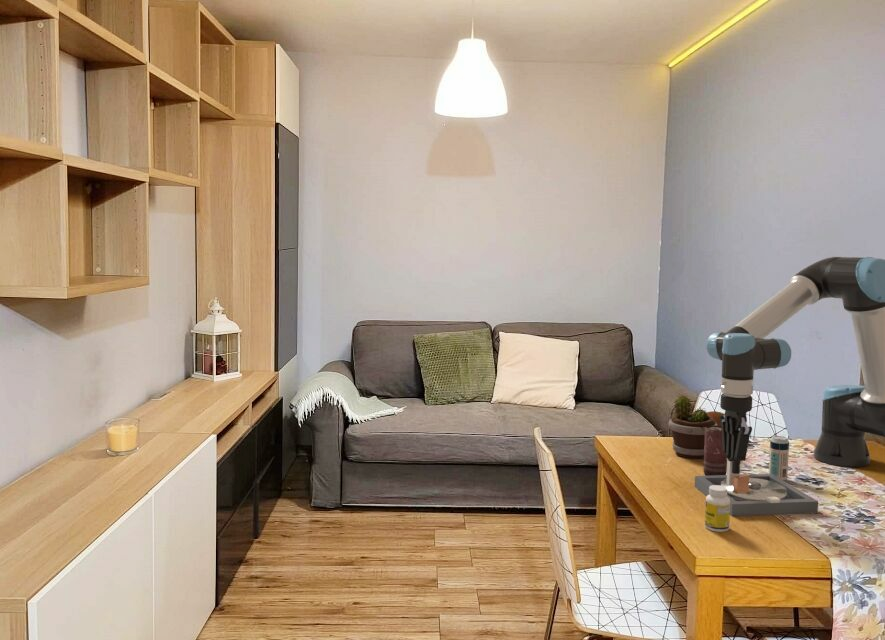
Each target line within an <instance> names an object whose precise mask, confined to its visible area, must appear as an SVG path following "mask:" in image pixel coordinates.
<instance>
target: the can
mask: <svg viewBox="0 0 885 640" xmlns="http://www.w3.org/2000/svg"><path fill="white" fill-rule="evenodd" d="M727 459H728V458H727V457H726V454H724V453H723V444H722V430H721V426H707V427H706V429H705V445H704V458H703V474H704V476H711V475H727Z"/></svg>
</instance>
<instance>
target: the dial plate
mask: <svg viewBox="0 0 885 640" xmlns="http://www.w3.org/2000/svg"><path fill="white" fill-rule="evenodd" d="M749 478H758V479H764V480H768V481H772V482H775V483H778V484H780V485H782V486H784V487H785V488H786V489H787V500H780V499H779V498H777V497H767V500H755V501H735V500H734V499H733V498H731V497H730V496H729V495H726V496H727V497H728V498H729V499H730V516H731V517H740V516H741V517H742V516H743V517H744V516H745V517H747V516H772V515H801V514H805V515H807V514H818V511H819V501H818V499H815V498H813V497H812V496H810V495H808V494H807V493H805V492H803V491H802V490H800V489H799V488H796V487H795V486H794V485H791V484H790V483H788V482H787V481H786V480H785V481H783V480H782V479H780V478H778V477H777V476H775V475H773V474H769V473H756V474H755V473H753V474H751V473H750V474H749ZM725 479H727V474H726V475H711V476H706V475H695V476H694V488H696V489H697V490H698V491H700V493H702V494H704V496H706V497H707V496H708V495H710V493H709V487H710V486H712V485H720V486H721V482H722V481H723V480H725Z"/></svg>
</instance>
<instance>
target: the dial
mask: <svg viewBox="0 0 885 640" xmlns="http://www.w3.org/2000/svg"><path fill="white" fill-rule="evenodd" d="M726 483H727V479H725V480H723V481H722V482H721V486H724V487H726V488H727V495H729V496H730V497H731V498H733V499H734V500H735V501H755V500H767V497H777V498H779V499H780V500H787V489H786V488H785V487H784V486H782V485H780V484H778V483H775V482H772V481H768V480H764V479H758V478H749V474H748V473H743V474H740V475H739V476H736V477H734V482H733V485H728V484H726Z"/></svg>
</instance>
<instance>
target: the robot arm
mask: <svg viewBox="0 0 885 640" xmlns="http://www.w3.org/2000/svg"><path fill="white" fill-rule="evenodd" d="M830 298H833V299H834V298H835V299H841V300H842V305H843V308H844V311H846V312H848V313H850V315H851V320H852V324H853V331H854V335H855V340H856V346H857V352H858V358H859V363H860V366H861V367H860V368H861V369H860V370H861V373H862V378H863V380H862V381H863V383H864V384H863V385H861V384H859V385H857V384H838V385H830V386H827V387H826V388H824V390H823V397H822V413H821V415H822V416H821V418H822V419H821V433H820V436H819V438H818V440H817V443H816V445H815V447H814V449H813V451H814V452H813V457H814V459H815V460H817V461H819V462H821V463H824V464H829V465H833V466H839V467H850V468H851V467H853V468H855V467H856V468H859V467H866V466H869V465H870V464H871V463H870V462H871V455H870V452H869V448H868V444H867V442H866V437H865V435H866V434H870V435H871V434H872V435H875V436H878V437H881V438H882V437H883V438H885V259H884V258H878V257H877V258H876V257H872V256H867V257H866V256H865V257H853V256H852V257H848V256H843V257H842V256H832V257H827V258H823V259H821V260H818V261H816V262H814V263H812V264H810V265H808V266H807V267H805V268H803V269H802V270H800V271H799V272H797V273H796V274H795V275H794V276H792V277H791V278H790V279H789V281H788V283H787V285H786V286H785V287H783V288H782V289H781V290H779V291H778V292H777V293H775V294H774V295H773V296H772V297H771V298H769V299H768V300H767V301H765V302H764V303H763V304H761V305H760V306H759V307H757V308H755V310H753V311H752V312H751V313H750V314H748V315H747V316H746V317H745V318H743V319H742V320H740V321H739V322H738V323H737V324H736V325H733V326H732V328H730V329H729V330H727V331H726V332H724V331H720V332H714V333H712V334H711V335H709V337H708V339H707V341H706V346H705V347H706V351H707V353H708V355H709V356H710V357H711V358H713V359H716V360H718V361H719V360H720V361H721V381H720V383H719V384H720V386H721V391H720V392H721V394H720V406H719V407H720V409H722V410H723V411H724V414H725V415H724V416H720V422H721V430H722V444H723V453H724V454H726V457H727V468H726V475H727V483H726V484H728V485H733V482H734V477H736V476H739V475H741V473H740V472H741V462H742V461H743V462H744V461H746V459H747V453H748V448H749V443H750V436H751V434H752V431H753V426H748V423H747V421H748V419H747V418H748V417H747V413H748V412H751V411H752V410H753V397H752V395H753V394H754V393H753V392H754V375H755V373H754V371H756V370H757V371H758V370H767V369H777V368H781V367H782V368H783V367H785V366H787V365H788V364H789V363H790V361H791V359H792V349H791V346H790V344H789V343H788V342H787V341H786V340H784V339H782V338H767V337H768V336H769V335H770V334H771V333H773V332H774V331H776V330H777V329H778V328H779V327H780V326H782V325H783V324H784V323H785V322H787V321H788V320H789V319H791V318H792V317H793V316H795V315H796V314H797V313H798V312H800V311H801V310H802V309H804V308H805V307H806V306H808V305H809V306H810V305H814V304H816V303H817V302H819V301H820V300H822V299H830ZM865 433H866V434H865Z"/></svg>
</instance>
